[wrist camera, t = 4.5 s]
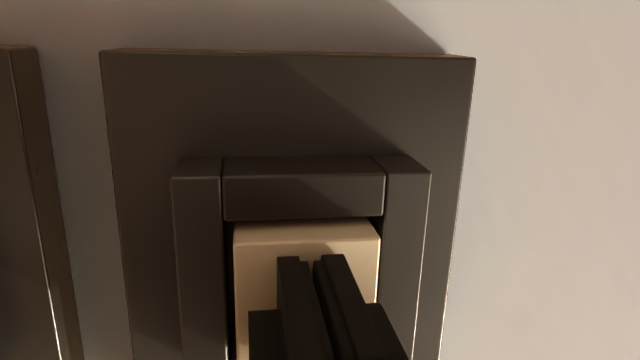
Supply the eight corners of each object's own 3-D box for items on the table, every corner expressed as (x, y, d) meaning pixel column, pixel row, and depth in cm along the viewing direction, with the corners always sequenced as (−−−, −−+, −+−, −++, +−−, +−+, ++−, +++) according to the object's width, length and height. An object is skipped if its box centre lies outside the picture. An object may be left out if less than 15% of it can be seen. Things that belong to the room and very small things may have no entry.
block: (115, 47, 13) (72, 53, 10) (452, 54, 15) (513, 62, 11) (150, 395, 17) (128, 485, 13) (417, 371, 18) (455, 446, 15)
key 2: (234, 216, 13) (232, 243, 11) (364, 211, 13) (381, 237, 12) (237, 330, 14) (236, 371, 12) (358, 321, 14) (372, 360, 13)
